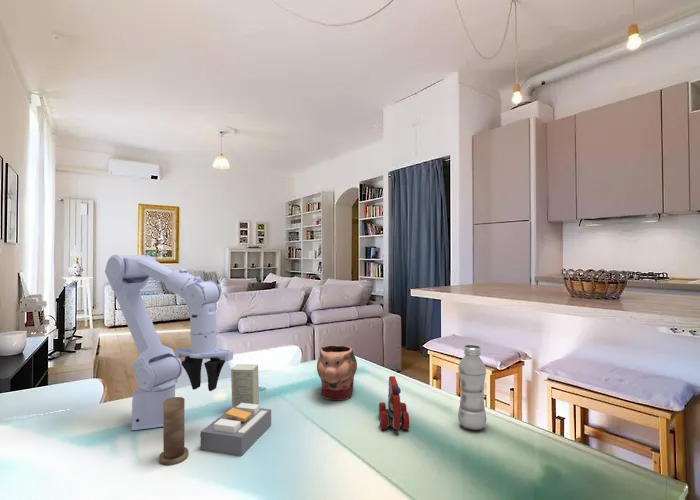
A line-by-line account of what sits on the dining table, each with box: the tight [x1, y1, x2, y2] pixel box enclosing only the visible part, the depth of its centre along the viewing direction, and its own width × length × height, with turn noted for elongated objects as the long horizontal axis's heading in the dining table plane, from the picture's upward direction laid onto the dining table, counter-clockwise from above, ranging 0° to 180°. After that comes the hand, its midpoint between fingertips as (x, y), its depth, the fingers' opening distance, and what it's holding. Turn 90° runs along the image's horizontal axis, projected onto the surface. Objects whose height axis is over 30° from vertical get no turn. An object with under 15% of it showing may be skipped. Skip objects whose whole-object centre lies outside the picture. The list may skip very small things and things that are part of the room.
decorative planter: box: [316, 344, 358, 401], centre depth 113 cm, size 20×12×14 cm, turn 178°
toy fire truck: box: [378, 375, 410, 430], centre depth 94 cm, size 7×12×10 cm, turn 179°
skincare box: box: [230, 363, 260, 408], centre depth 100 cm, size 6×4×12 cm
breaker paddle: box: [225, 407, 251, 422], centre depth 87 cm, size 5×3×2 cm, turn 76°
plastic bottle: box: [457, 344, 487, 431], centre depth 92 cm, size 6×7×20 cm
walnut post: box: [158, 396, 190, 466], centre depth 78 cm, size 6×6×12 cm
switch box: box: [200, 403, 272, 457], centre depth 87 cm, size 10×14×5 cm
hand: (204, 388), depth 89 cm, fingers open, 4 cm apart
